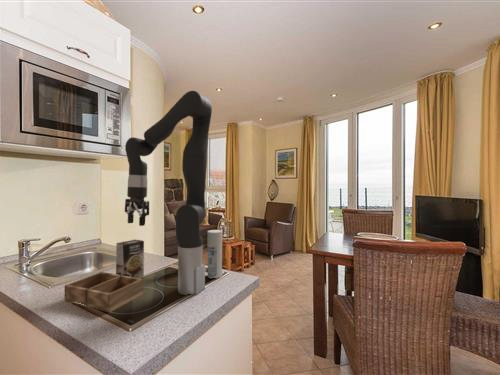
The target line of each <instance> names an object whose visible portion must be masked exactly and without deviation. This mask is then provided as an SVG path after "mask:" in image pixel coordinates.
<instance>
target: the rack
mask: <svg viewBox="0 0 500 375" xmlns="http://www.w3.org/2000/svg"><path fill="white" fill-rule="evenodd" d="M143 294H144V278H134V277H128V276H123V275H117V274H116V273H110V272H104V271H99V272H97V273H95V274H92V275H89V276H86V277H84V278H81V279H78V280H76V281H73V282H70V283H68V284H67V283H66V284H65V285H64V302H66V303H69V304H73V302H77V303H81V304H84V305H86V306H89V307H88V308H90V307H93V308H92V309H94V308H96V309H95V310H98V309H99V311H103V312H106V313H112V312H113V311H115V310H117V309H118V308H120V307H122V306H124V305H126V304H128V303H129V302H132V301H133V300H134V299H137V298H139V297H140V296H142V295H143ZM86 306H85V307H86Z"/></svg>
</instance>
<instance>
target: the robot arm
mask: <svg viewBox="0 0 500 375" xmlns="http://www.w3.org/2000/svg"><path fill="white" fill-rule="evenodd" d="M212 109H213V106H212V103H211V100H209V99H208V98H207V97H206V96H205V95H203V94H201V93H200V92H198V91H196V90H189V91H187V92H185V93H184V94H183V95H182V96H181V97H180V98H179V99H178V100H177V102H176V103H175V104H174V105H172V107H171V108H169V110H168V111H167V113H165V115H164V116H163V117H162V118H161V119H159V120H158V121H157V122H155V123H154V124H153V125H151V126H150V127H148V129H146V130H145V131H144V132H143V138H144V139H143V138H139V137H129V138H128V139H127V140H126V143H125V154H126V158H127V162H128V178H127V193H126V195H127V197H128V198H125V199H124V200H125V202H124V213H126V215H127V223H128V224H133V223H134V213H135V212H137V213H138V216H139V218H138V226H140V227H143V226H146V217H147V216H150V200H145V198H147V197H148V163H147V162H145V161H143V160H142V158H141V157H147V156H150V155H151V154H153V152H154V150H156V148H157V147H158V145H160V144H161V143H162V142H164V141H165V140H167V139H168V138H169V137H170V136H171V135H172V134H173V132H174V131H175V128H176V126H177V124H179V123H180V122H181V121H182V120H185V119H186V118H188V117H191V118H192V128H191V129H192V130H191V134H190V137H189V139H188V140H187V143H186V144H185V146H184V149H183V150H182V164H181V165H182V166H181V167H182V168H181V170H182V174H183V179H184V182H185V186H186V200H185V204H183V205H181V206H179V208H177V209H176V214H175V221H174V222H175V237H176V240H177V246H178V247H177V251H178V252H177V292H178V293H179V294H181V295H184V296H186V295H187V294H191V295H198V294H199V293H201V292H202V291H203V290H204V289H206V288H205V287H206V273H205V272H206V264H205V263H204V262H203V260H204V257H203V256H204V255H203V254H204V253H203V252H204V250H203V249H204V247H203V246H204V244H203V243H204V239H203V237H202V236H201V233H200V225H202V224H203V222H204V220H206V219H205V218H206V194H205V192H206V191H205V189H206V179H207V168H208V166H207V165H208V146H209V131H210V126H211V119H212V113H213V112H212V111H213V110H212Z"/></svg>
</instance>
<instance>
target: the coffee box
mask: <svg viewBox="0 0 500 375" xmlns="http://www.w3.org/2000/svg"><path fill="white" fill-rule="evenodd" d="M115 244H116V245H115V246H116V250H115V253H116V254H115V256H116V258H115V262H116V263H115V274H117V275H123V276H128V277H134V278H140V279H144V276H145V275H144V272H145V263H144V262H145V261H144V260H145V241H144V240H141V239H131V240H127V241H121V242H115Z"/></svg>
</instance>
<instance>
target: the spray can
mask: <svg viewBox="0 0 500 375" xmlns="http://www.w3.org/2000/svg"><path fill="white" fill-rule="evenodd" d="M222 266H223V230H222V229H211V230H207V277H208V278H209V279H212V278H216V279H219V278H218V277H220V278H222V276H223V267H222Z"/></svg>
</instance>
